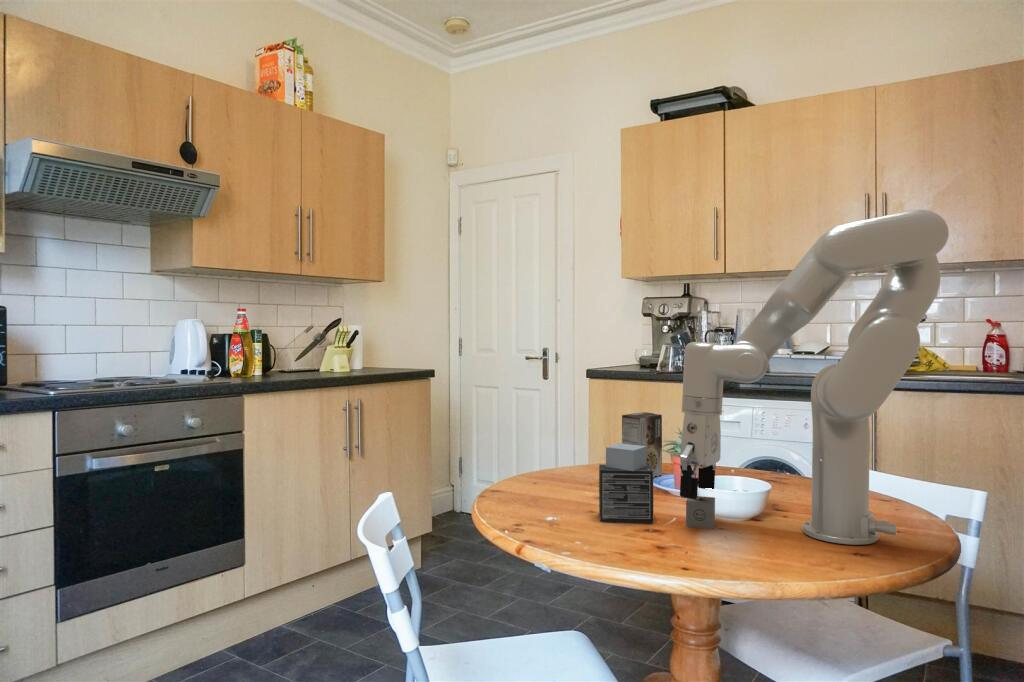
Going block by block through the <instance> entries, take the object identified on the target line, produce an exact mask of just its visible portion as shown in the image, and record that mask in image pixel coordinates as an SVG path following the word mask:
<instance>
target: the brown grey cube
mask: <svg viewBox="0 0 1024 682" xmlns="http://www.w3.org/2000/svg"><path fill="white" fill-rule="evenodd" d="M685 511H686V512H685V527H686V526H688V527H689V528H696V529H705V528H706V529H707V530H714V527H715V524H716V497H712V496H711V497H710V496H699V495H697V498H696V499H690V498H686V502H685Z"/></svg>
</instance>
